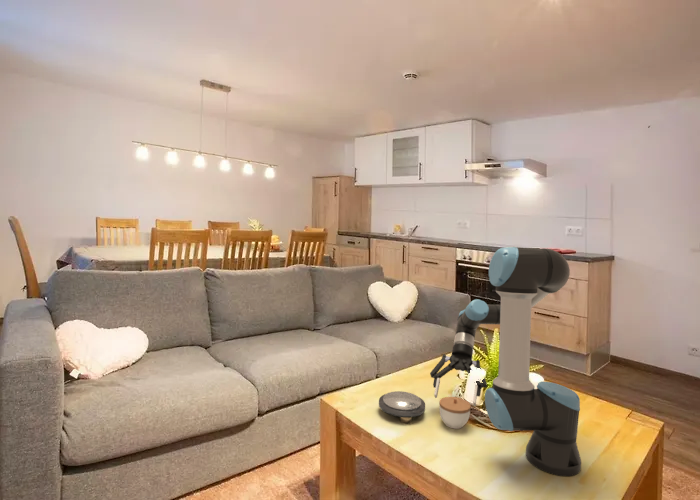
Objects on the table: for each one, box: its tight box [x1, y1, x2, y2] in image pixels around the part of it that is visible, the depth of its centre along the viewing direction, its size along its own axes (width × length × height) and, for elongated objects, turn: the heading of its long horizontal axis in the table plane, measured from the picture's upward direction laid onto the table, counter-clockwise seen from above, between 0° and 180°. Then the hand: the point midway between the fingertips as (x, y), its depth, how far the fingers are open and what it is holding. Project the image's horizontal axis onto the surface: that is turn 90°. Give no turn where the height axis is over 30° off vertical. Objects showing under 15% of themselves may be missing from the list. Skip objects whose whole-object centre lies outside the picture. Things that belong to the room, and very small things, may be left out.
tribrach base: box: [378, 390, 426, 424], centre depth 155 cm, size 17×17×5 cm
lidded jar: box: [439, 396, 472, 430], centre depth 147 cm, size 11×11×9 cm
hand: (454, 400), depth 149 cm, fingers open, 13 cm apart
